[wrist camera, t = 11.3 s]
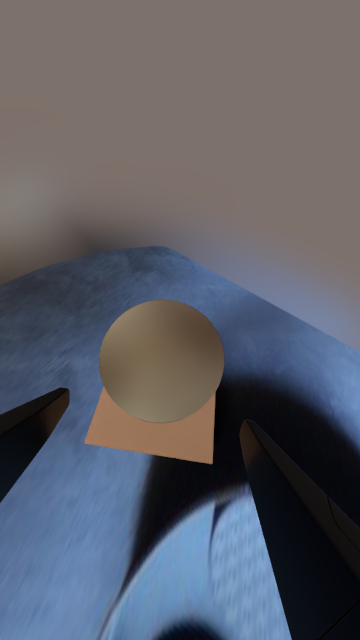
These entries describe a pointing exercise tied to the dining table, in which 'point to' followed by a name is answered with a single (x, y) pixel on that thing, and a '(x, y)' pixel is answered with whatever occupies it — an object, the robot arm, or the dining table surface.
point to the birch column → (161, 361)
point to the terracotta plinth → (154, 432)
